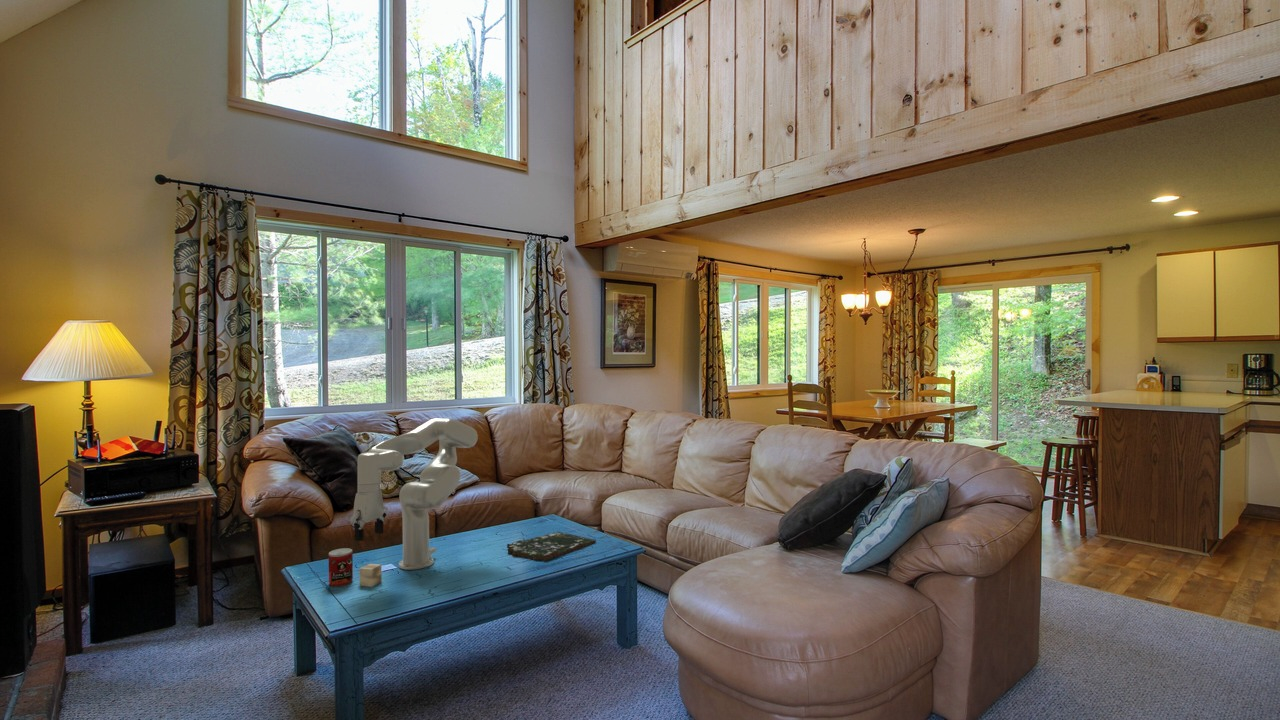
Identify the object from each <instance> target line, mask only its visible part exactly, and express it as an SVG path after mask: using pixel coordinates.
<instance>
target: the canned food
mask: <svg viewBox="0 0 1280 720" xmlns="http://www.w3.org/2000/svg"><path fill="white" fill-rule="evenodd" d="M353 553H354V552H353V549H352V548H348V547H347V548H346V547H344V548H337V549H333V550H331V551H329V552H328V583H329V586H332V587H342V586H346V585H349V584H351V583H352V582H353V579H354V576H353V575H354V572H353V571H354V570H353V569H354V564H353V563H354V562H353V560H354V556H353V555H354V554H353Z"/></svg>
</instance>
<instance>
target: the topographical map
mask: <svg viewBox="0 0 1280 720" xmlns="http://www.w3.org/2000/svg"><path fill="white" fill-rule="evenodd" d="M595 543H597V541H596V539H593V538H589V537H584V536H580V535H575V534H571V533H566V532H561V531H555V532H552V533H547V534H544V535H540V536H536V537H532V538H528V539H521V540H517V541H515V542H511V543H507V544H506V548H507V555H512V557H514V558H522V559H523V558H524V559H528V560H533V561H539V562H544V563H545V562H547V561H551V560H553V559H556V558H558V557H561V556H565V555H566V554H569V553H571V552H572V553H573V552H575V551H577V550H580V549H582V548H583V549H584V547H587V546H591V545H592V544H595Z"/></svg>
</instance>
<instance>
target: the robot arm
mask: <svg viewBox="0 0 1280 720" xmlns="http://www.w3.org/2000/svg"><path fill="white" fill-rule="evenodd" d="M478 437H479V435H478V432H477V430H476V429H475V428H474V427H472V426H470V425H468V424H465V423H463V422H461V421H459V420H456V419H454V418H449V417H447V418H444V417H435V418H430V419H428V420H426V421H425V422H424V423H421V425H418V426H417V427H416V428H414V429H411V431H409V432H406V433H403V434H400V435H398V436H394V437H392V438H389V439H386V440H384V441H382V442H380V443H378V444H376V445H375V446H373V447H372V448H370V449H369V450H368V451H367V452H362V453H360V454H358V456H357V492H356V493H355V498H354V502H353V515H352V516H351V517H350V518H349V522H350V525H351V527H352V528H353V530H354V541H358V542H363V541H365V540H364V538H365V537H364V533H365V531H364V528H363V527H364V526H365V523H369V522H372V521H374V533H375V534H383V533H384V522H385V521H386V520H385V518H386V516H387V512H388V509H389V508H388V507H387V506H384V498H383V492H382V482H381V481H382V478H381V477H382V475H381V474H382V472H392V471H396V470H399V468H401V467H402V466H403V464H404V461H405V460H404V456H403V455H411V454H416V453H419V452H421V451H423V450H425V449H426V448H428V447H429V446H430V445H432V444H434V443H435V442H437V441H438V440H439V441H438V442H439V446H438V447H439V449H438V453H437V454H436V456H435V457H434V458H433V459H431V461H430V462H429V463H428V464H427V465H426V467H424V469H423V470H422V471H421V473H420V476H419V480H420V481H411V482H407V483H405V484H404V485H403V486H401V488H400V489H399V490H400V491H399V502H400V503H399V504H400V507H401V513H402V515H401V516H402V560H400V561H399V562H398V568H399V569H402V570H408V571H412V570H420V569H424V568H428V567H431V566H432V565H433V564H434V561H435V559H434V558H433V557H432V556H431V555H432V554H434V553H436V551H437V549H436V548H435V547H432V548H430V516H429V512H428V510H435V509H438V508H439V507H440V506H441V505H443V504H444V502H446V500H447V499H448V498H449V496H450V495H451V494H452V493H453V492H454V491H455V489H456V488H457V487H458V485H459V483H460V481H461V471H460V468H459V467H457V466H456V465H457V462H458V456H457V448H461V449H462V448H463V449H470V448H473V447H474V446H476V444H477V442H478Z"/></svg>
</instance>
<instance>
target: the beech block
mask: <svg viewBox="0 0 1280 720" xmlns="http://www.w3.org/2000/svg"><path fill="white" fill-rule="evenodd" d="M358 569H359V586H360V587H361V586H362V587H369V588H370V587H373V586H376V585H378V584H380V583H382V564H378V563H377V564H376V563H368V564H366V565H364V566H362V567H359V568H358Z"/></svg>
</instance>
